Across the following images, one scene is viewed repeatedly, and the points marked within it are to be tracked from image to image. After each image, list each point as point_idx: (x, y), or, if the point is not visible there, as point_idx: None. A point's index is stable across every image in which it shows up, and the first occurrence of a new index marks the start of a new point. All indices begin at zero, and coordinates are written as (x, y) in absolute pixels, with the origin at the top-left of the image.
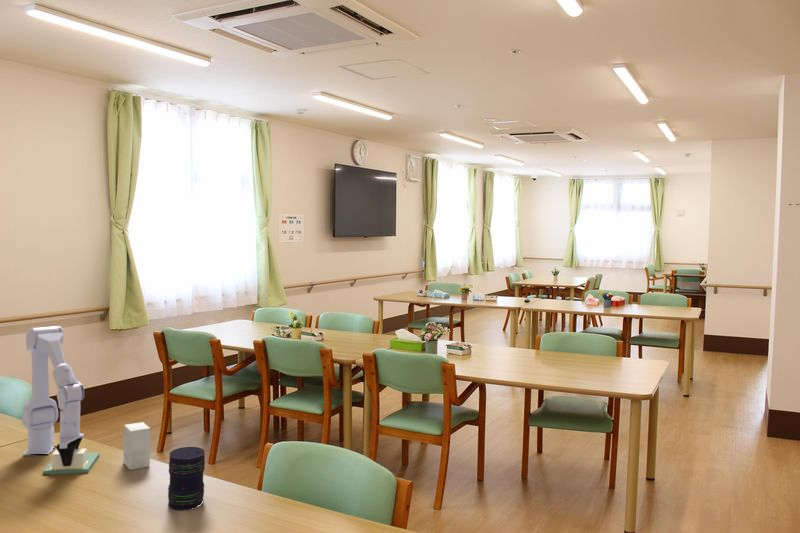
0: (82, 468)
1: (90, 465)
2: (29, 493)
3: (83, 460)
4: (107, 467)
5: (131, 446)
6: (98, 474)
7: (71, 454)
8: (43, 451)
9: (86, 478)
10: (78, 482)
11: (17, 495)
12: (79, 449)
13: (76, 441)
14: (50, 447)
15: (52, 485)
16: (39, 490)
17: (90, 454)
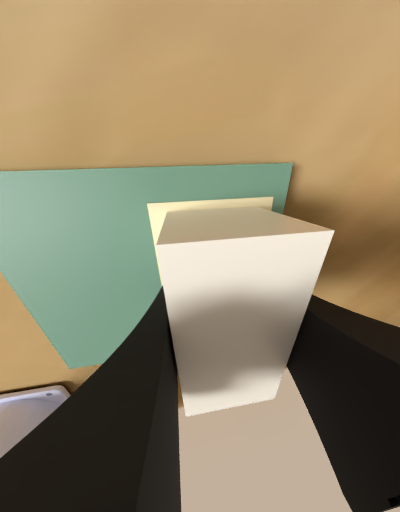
0: (271, 202)
1: (230, 165)
2: (384, 302)
3: (261, 214)
4: (203, 23)
5: None
6: (324, 78)
7: (353, 315)
8: (52, 408)
9: (353, 149)
10: (384, 177)
11: (380, 320)
12: (195, 306)
13: (162, 456)
14: (8, 413)
15: (358, 268)
16: (378, 287)
17: (15, 231)
